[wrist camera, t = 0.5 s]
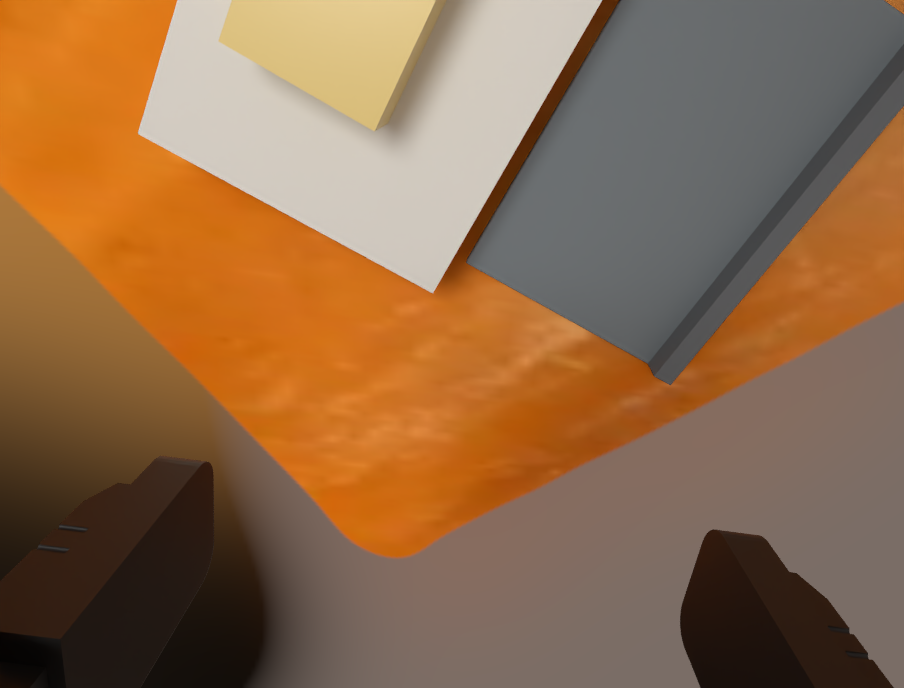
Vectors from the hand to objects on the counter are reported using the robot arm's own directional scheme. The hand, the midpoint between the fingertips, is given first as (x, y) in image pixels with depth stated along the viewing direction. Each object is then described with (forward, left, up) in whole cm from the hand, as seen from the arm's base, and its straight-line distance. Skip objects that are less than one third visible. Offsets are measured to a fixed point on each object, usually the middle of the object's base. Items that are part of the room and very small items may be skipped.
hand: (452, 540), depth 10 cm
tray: (-7, +6, -22) cm, 24 cm away
